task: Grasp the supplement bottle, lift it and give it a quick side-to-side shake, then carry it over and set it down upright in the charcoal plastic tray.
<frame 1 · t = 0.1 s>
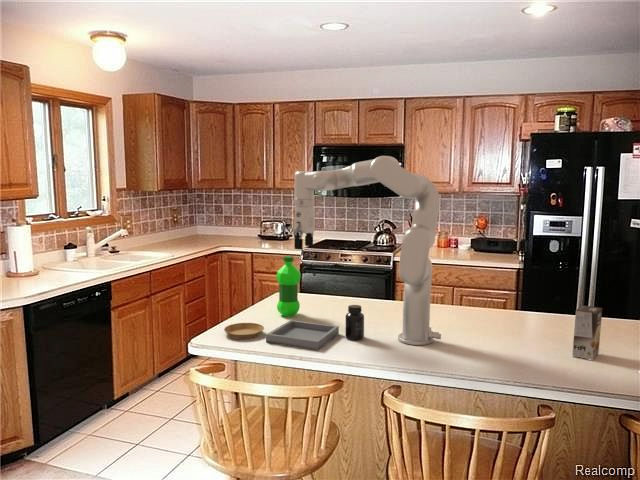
hand: (303, 247, 204), 31 cm above the countertop, fingers open, 9 cm apart
plastic bottle: (288, 315, 223), on the countertop
tray: (303, 338, 192), on the countertop
coffee box: (585, 355, 177), on the countertop
plant saucer: (244, 335, 196), on the countertop
supplement bottle: (354, 338, 193), on the countertop
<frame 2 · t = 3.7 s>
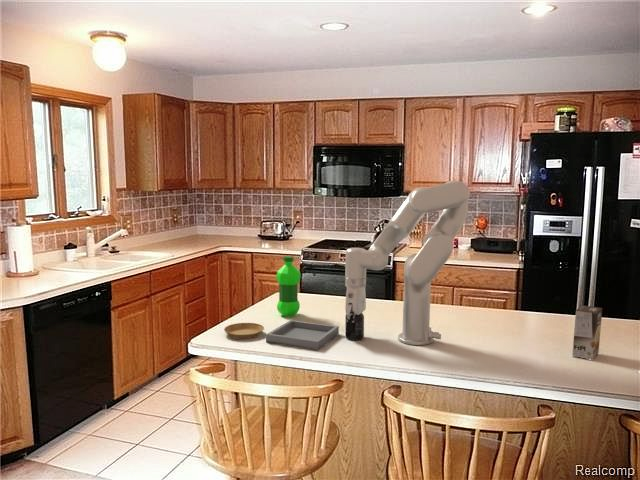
hand: (354, 329, 192), 3 cm above the countertop, fingers closed on supplement bottle, 6 cm apart
supplement bottle: (354, 338, 193), on the countertop, touching gripper
everything else where it was.
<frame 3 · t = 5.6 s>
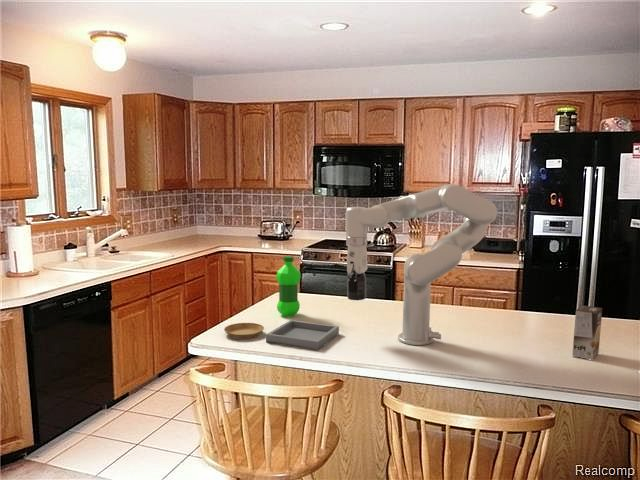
hand: (356, 289, 190), 18 cm above the countertop, fingers closed on supplement bottle, 6 cm apart
supplement bottle: (356, 299, 191), point 15 cm above the countertop, touching gripper
everything else where it was.
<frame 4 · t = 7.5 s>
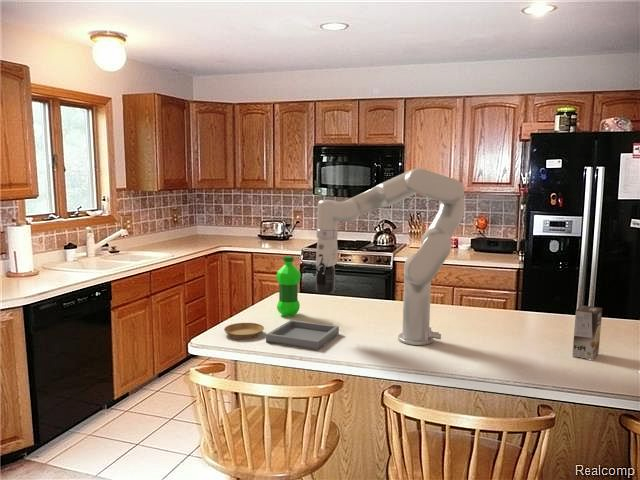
hand: (325, 282, 191), 20 cm above the countertop, fingers closed on supplement bottle, 6 cm apart
supplement bottle: (324, 291, 192), point 17 cm above the countertop, touching gripper
everything else where it was.
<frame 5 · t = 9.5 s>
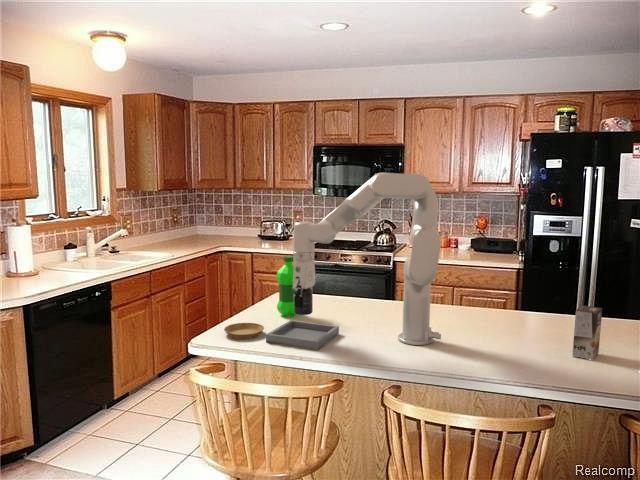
hand: (303, 304, 190), 13 cm above the countertop, fingers closed on supplement bottle, 6 cm apart
supplement bottle: (303, 313, 191), point 9 cm above the countertop, touching gripper
everything else where it was.
when the fingers open (6 cm above the countertop, at t = 11.3 s): supplement bottle drops 1 cm, resting on tray.
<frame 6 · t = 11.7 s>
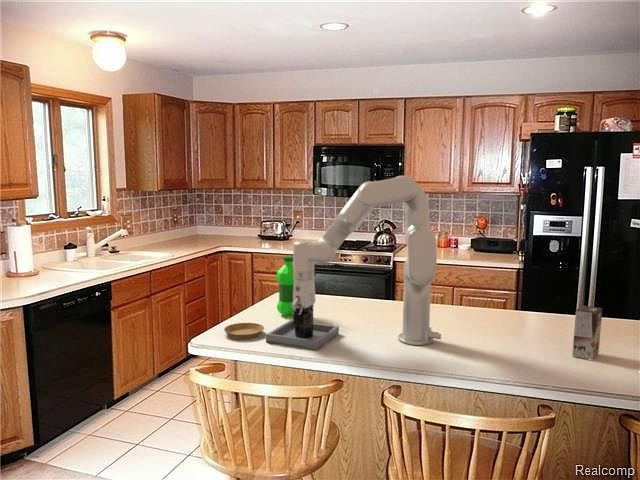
hand: (303, 321, 191), 6 cm above the countertop, fingers open, 9 cm apart
supplement bottle: (304, 336, 192), point 1 cm above the countertop, touching tray
everything else where it was.
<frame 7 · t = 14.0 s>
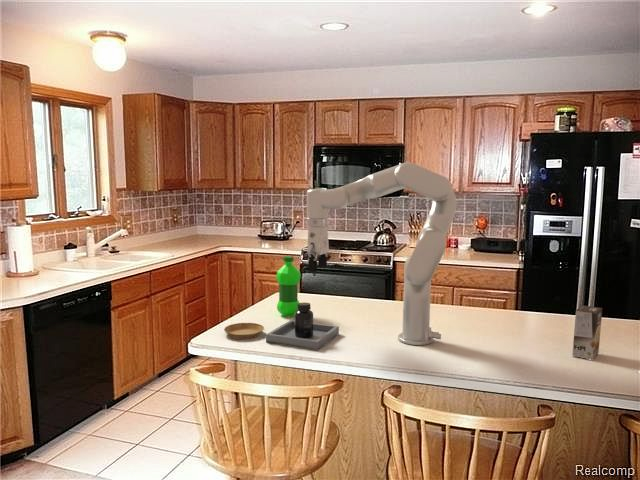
hand: (317, 269, 193), 25 cm above the countertop, fingers open, 9 cm apart
nothing on the countertop moved.
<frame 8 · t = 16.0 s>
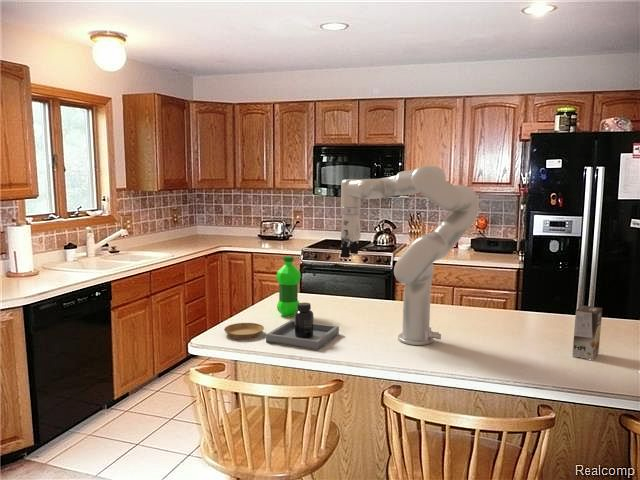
hand: (349, 255, 203), 28 cm above the countertop, fingers open, 9 cm apart
nothing on the countertop moved.
at the end: supplement bottle inside the target area on the tray (0.3 cm from its centre), point 0.6 cm above the tray's base; supplement bottle tilted 0°; the gripper is holding nothing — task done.
